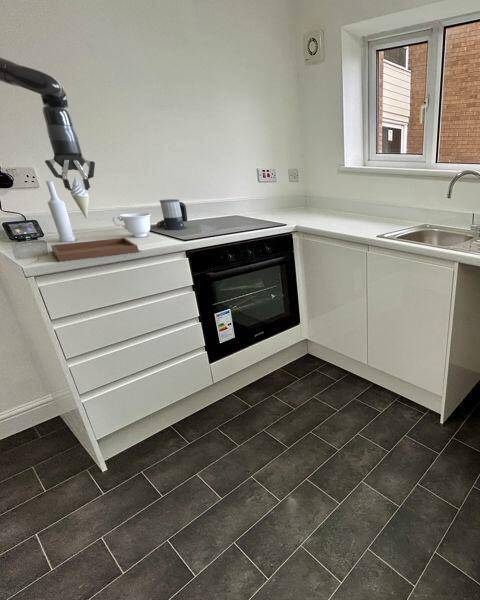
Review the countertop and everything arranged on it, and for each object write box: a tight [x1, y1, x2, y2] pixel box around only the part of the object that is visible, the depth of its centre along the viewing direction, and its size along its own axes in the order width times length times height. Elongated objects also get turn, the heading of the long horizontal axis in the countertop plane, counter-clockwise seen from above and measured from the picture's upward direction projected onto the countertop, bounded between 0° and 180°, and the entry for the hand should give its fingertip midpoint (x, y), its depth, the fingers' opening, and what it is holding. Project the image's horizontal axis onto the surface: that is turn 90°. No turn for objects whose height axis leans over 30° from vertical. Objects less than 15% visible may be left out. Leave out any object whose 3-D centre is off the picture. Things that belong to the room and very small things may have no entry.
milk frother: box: [156, 198, 188, 231], centre depth 188 cm, size 14×16×15 cm
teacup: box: [112, 212, 152, 238], centre depth 165 cm, size 12×15×10 cm
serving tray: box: [50, 237, 140, 262], centre depth 138 cm, size 24×20×3 cm
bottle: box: [45, 180, 76, 243], centre depth 150 cm, size 5×5×25 cm
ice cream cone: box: [69, 176, 90, 219], centre depth 131 cm, size 5×5×15 cm
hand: (78, 189), depth 130 cm, fingers closed on ice cream cone, 4 cm apart
